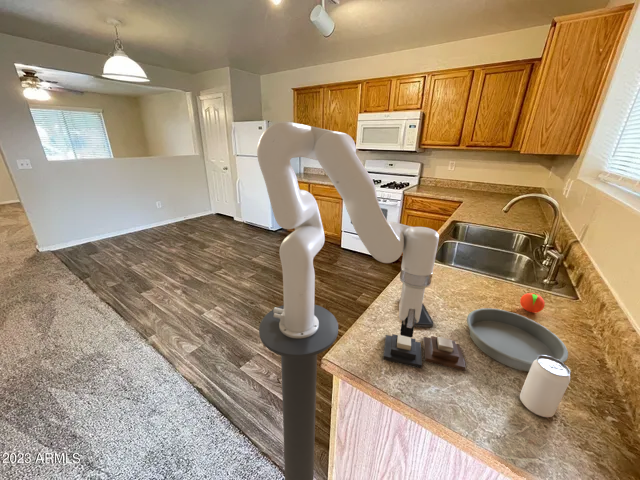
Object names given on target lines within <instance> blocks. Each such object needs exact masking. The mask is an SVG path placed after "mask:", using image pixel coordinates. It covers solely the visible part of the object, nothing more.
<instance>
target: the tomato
mask: <svg viewBox="0 0 640 480" xmlns="http://www.w3.org/2000/svg"><path fill="white" fill-rule="evenodd" d="M519 302H520V306H521V307H522V309H523V310H525V311H527V312H528V313H536V314H537V313H539V312H540V313H541V311H543V310H544V309H545V305H546V303H545V300H544V298H543V297H542V296H541V295H539V294H537V293H535V292H527V293H525V294H523V295H521V297H520V300H519Z"/></svg>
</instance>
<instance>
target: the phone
mask: <svg viewBox="0 0 640 480" xmlns="http://www.w3.org/2000/svg"><path fill="white" fill-rule="evenodd" d="M433 326H434V321H433V319H432V317H431V315H430V314H429V312H428V310H427V308H426V307H425V305H424V302H423V303H422V309H421V314H420V319H419V322H418V323H416V322H415V323H414V327H424V328H426V327H427V328H432V327H433Z"/></svg>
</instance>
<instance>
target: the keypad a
mask: <svg viewBox="0 0 640 480" xmlns="http://www.w3.org/2000/svg"><path fill="white" fill-rule="evenodd" d="M398 335H399V334H394V333H392V334H391V335H388V334H386V335H385V339H384V347H383V348H384V349H383V355H382V357H383V358H382V359H383V360H384V361H389V362H392V363H397V364H401V365H405V366H408V367H414V368H417V369H422V368H423V358H422V343H421V341H420V342H419V341H416V338H413V337H411V349H410V351H409V350H405V349H401V348H397V337H398Z"/></svg>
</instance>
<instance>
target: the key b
mask: <svg viewBox="0 0 640 480" xmlns="http://www.w3.org/2000/svg"><path fill="white" fill-rule="evenodd" d="M437 337H438V338H437V346H438V350H443V351H447V352H452V351H453V344H452V340H453V339H452V338H448V337H443V336H439V335H438V336H437Z"/></svg>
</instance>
